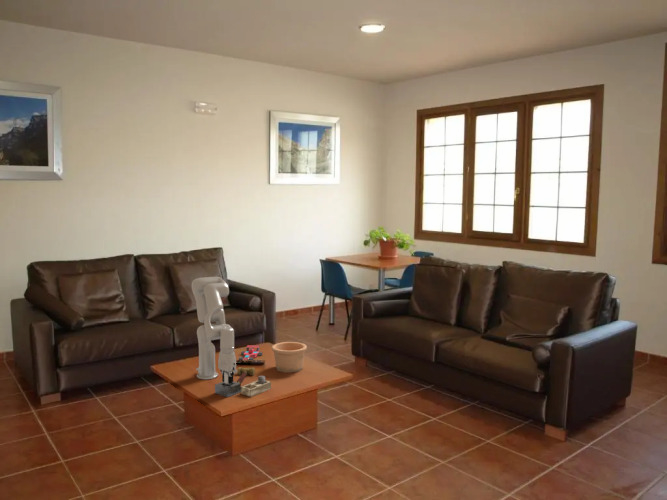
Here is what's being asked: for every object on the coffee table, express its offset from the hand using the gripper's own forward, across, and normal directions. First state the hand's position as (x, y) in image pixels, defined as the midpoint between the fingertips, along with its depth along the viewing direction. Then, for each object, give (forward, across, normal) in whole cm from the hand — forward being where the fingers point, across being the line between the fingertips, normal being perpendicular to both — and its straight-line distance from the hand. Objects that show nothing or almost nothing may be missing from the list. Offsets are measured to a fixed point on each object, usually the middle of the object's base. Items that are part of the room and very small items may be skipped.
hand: (227, 381), depth 318 cm
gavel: (+7, -10, +22) cm, 25 cm away
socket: (+6, 0, 0) cm, 6 cm away
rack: (+6, +11, +11) cm, 17 cm away
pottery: (+7, 0, +53) cm, 53 cm away
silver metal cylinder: (+6, 0, 0) cm, 6 cm away
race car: (+7, -35, +53) cm, 64 cm away
